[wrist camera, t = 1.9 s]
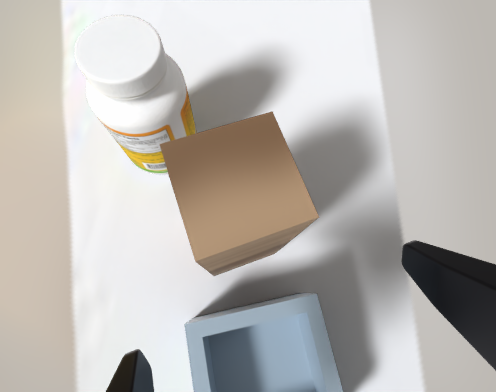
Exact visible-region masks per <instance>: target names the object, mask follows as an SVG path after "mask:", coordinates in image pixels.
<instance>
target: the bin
mask: <svg viewBox="0 0 496 392" xmlns="http://www.w3.org/2000/svg"><path fill="white" fill-rule="evenodd" d="M185 331H186V338H187V345H188V352H189V360H190V367H191V374H192V381H193V389H194V392H343V389H342V385H341V381H340V378H339V374H338V370H337V366H336V363H335V359H334V355H333V351H332V348H331V344H330V340H329V336H328V333H327V329H326V325H325V322H324V318H323V314H322V310H321V307H320V303H319V299H318V295H317V294H313V293H298V294H294V295H290V296H285V297H281V298H277V299H272V300H268V301H264V302H259V303H255V304H251V305H246V306H242V307H238V308H233V309H229V310H225V311H220V312H216V313H212V314H207V315H203V316H199V317H194V318H193V319H191V320H190V321H189V322H187V323H186V324H185Z"/></svg>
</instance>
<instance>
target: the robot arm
mask: <svg viewBox="0 0 496 392" xmlns="http://www.w3.org/2000/svg"><path fill="white" fill-rule="evenodd" d="M402 265H403V267H404V269H405V270H406V271H407V273H408V274H409V275H410V276H411V278H412V279H413V280H414V282H415V283H416V284H417V285H418V287H419V288H420V289H421V290H422V292H423V293H424V294H425V295H426V297H427V298H428V299H429V300H430V302H431V303H432V304H433V305H434V306H435V307H436V309H438V311H439V312H440V313H441V314H442V315H443V316H444V317H445V318H446V319H447V320H448V321H449V322H450V323H451V324H452V325H453V326H454V327H455V328H456V330H458V332H459V333H460V334H461V335H462V336H463V337H464V338H465V339H466V340H467V341H468V342H469V343H470V344H471V345H472V346H473V347H474V348H475V349H476V350H477V352H479V353H480V355H481V356H482V357H483V358H484V359H485V360H486V361H487V362H488V363H489V364H490V365H491V366H492V367H493V368H494V369H495V370H496V265H495V264H492V263H489V262H486V261H482V260H479V259H476V258H472V257H469V256H466V255H463V254H459V253H456V252H453V251H449V250H446V249H443V248H439V247H436V246H433V245H430V244H426V243H423V242H419V241H411V242H408V243H406V244H404V245H403V250H402ZM106 392H154V387H153V378H152V370H151V367H150V364H149V363H148V361H147V359H146V358H145V356H144V355H143V353H142V352H141V351H140V350H139V349H137V350H134V351H131V352H129V353H127V354H125V355H124V357H123V358H122V360H121V362H120V364H119V366H118V368H117V370H116V372H115V374H114V376H113V378H112V380H111V382H110V384H109V386H108V388H107V390H106Z"/></svg>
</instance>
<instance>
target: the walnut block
mask: <svg viewBox="0 0 496 392" xmlns="http://www.w3.org/2000/svg"><path fill="white" fill-rule="evenodd" d="M160 148H161V151H162V154H163V157H164V161H165V164H166V167H167V170H168V174H169V177H170V180H171V184H172V187H173V190H174V193H175V197H176V200H177V203H178V206H179V210H180V213H181V216H182V219H183V223H184V226H185V229H186V232H187V236H188V239H189V242H190V245H191V249H192V252H193V255H194V258H195V261H196V262H197V263H198V264H199V265H201V266H202V267H203V268H204V269H206V270H207V271H208V272H209V273H211V274H212V275H213V276H216V275H218V274H221V273H224V272H226V271H229V270H232V269H235V268H237V267H240V266H243V265H245V264H248V263H251V262H254V261H256V260H259V259H262V258H264V257H267V256H270V255H273V254H275V253H276V252H277V251H279V250H280V249H281V248H282V247H283V246H285V245H286V244H287V243H288V242H290V241H291V240H292V239H293V238H294V237H296V236H297V235H298V234H299V233H300V232H302V231H303V230H304V229H305V228H306V227H308V226H309V225H310V224H311V223H313V222H314V221H315V220H316V219H317V218H319V216H318V214H317V211H316V209H315V207H314V204H313V202H312V200H311V198H310V195H309V193H308V191H307V189H306V186H305V184H304V182H303V180H302V177H301V175H300V173H299V171H298V168H297V166H296V164H295V162H294V159H293V157H292V155H291V152H290V150H289V148H288V146H287V143H286V141H285V139H284V137H283V134H282V132H281V130H280V128H279V125H278V123H277V121H276V119H275V116H274V114H273V112H269V113H265V114H262V115H258V116H255V117H251V118H248V119H245V120H241V121H238V122H234V123H231V124H227V125H224V126H220V127H217V128H213V129H210V130H207V131H203V132H200V133H196V134H193V135H189V136H186V137H182V138H179V139H175V140H172V141H168V142H165V143H162V144H160Z"/></svg>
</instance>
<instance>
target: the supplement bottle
mask: <svg viewBox="0 0 496 392" xmlns="http://www.w3.org/2000/svg"><path fill="white" fill-rule="evenodd" d="M75 59H76V62H77V64H78V66H79V68H80V70H81V71H82V73H83V74H84V76H85V78H86V80H87V82H86V96H87V100H88V102H89V105H90V107H91V109H92V110H93V112H94V113H95V115H96V116H97V118H98V119H99V120H100V121H101V123H102V124H103V125H104V126H105V127H106V129H107V130H108V131H109V132H110V134H111V135H112V136H113V138H114V139H115V140H116V141H117V143H118V144H119V145H120V146H121V148H122V149H123V150H124V152H125V153H126V154H127V156H128V157H129V158H130V159H131V161H132V162H133V163H134V164H135V165H136V166H137V167H138V168H140V169H141V170H143V171H145V172H148V173H151V174H156V175H166V174H168V170H167V167H166V164H165V161H164V157H163V154H162V151H161V148H160V144H162V143H165V142H168V141H172V140H175V139H179V138H182V137H186V136H189V135H193V134H196V133H197V132H196V127H195V123H194V119H193V115H192V110H191V105H190V101H189V96H188V92H187V87H186V83H185V80H184V76H183V74H182V71H181V69H180V68H179V66H178V65H177V63H176V62H175V61H174V60H173V59H172V58H171V57H170V56H168V55H167V54H165V51H164V48H163V45H162V42H161V39H160V37H159V34H158V33H157V31H156V30H155V29H154V28H153V27H152V26H151V25H150V24H149V23H148V22H146V21H144V20H142V19H140V18H138V17H134V16H129V15H113V16H109V17H105V18H102V19H99V20H97V21H95V22H93V23H92V24H90V25H89V26H88V27H87V28H86V29H85V30H84V31H83V32H82V33H81V34H80V36H79V37H78V39H77V42H76V45H75Z"/></svg>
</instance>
